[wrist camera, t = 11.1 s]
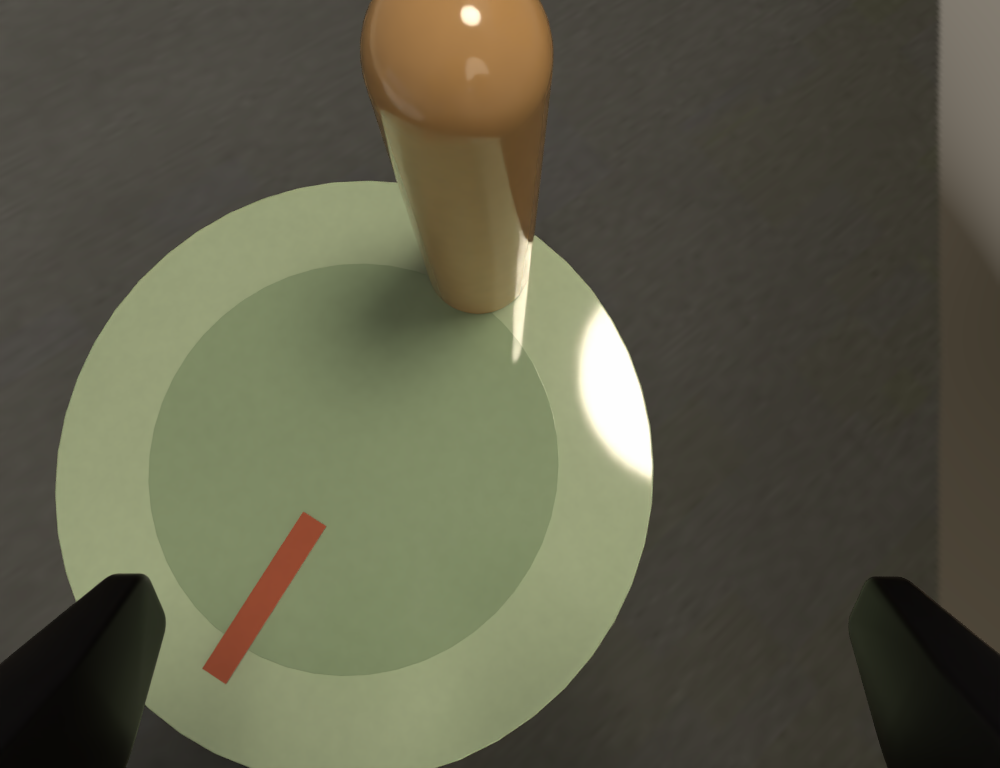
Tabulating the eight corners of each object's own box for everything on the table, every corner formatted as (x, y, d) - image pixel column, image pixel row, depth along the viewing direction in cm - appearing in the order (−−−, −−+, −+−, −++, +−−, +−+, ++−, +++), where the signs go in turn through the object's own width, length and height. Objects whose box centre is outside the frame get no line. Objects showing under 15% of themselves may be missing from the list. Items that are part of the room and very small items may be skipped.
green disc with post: (452, 898, 19) (361, 1606, 7) (-43, 560, 21) (-836, 638, 9) (748, 366, 22) (1068, 182, 9) (286, 103, 24) (43, -348, 11)
